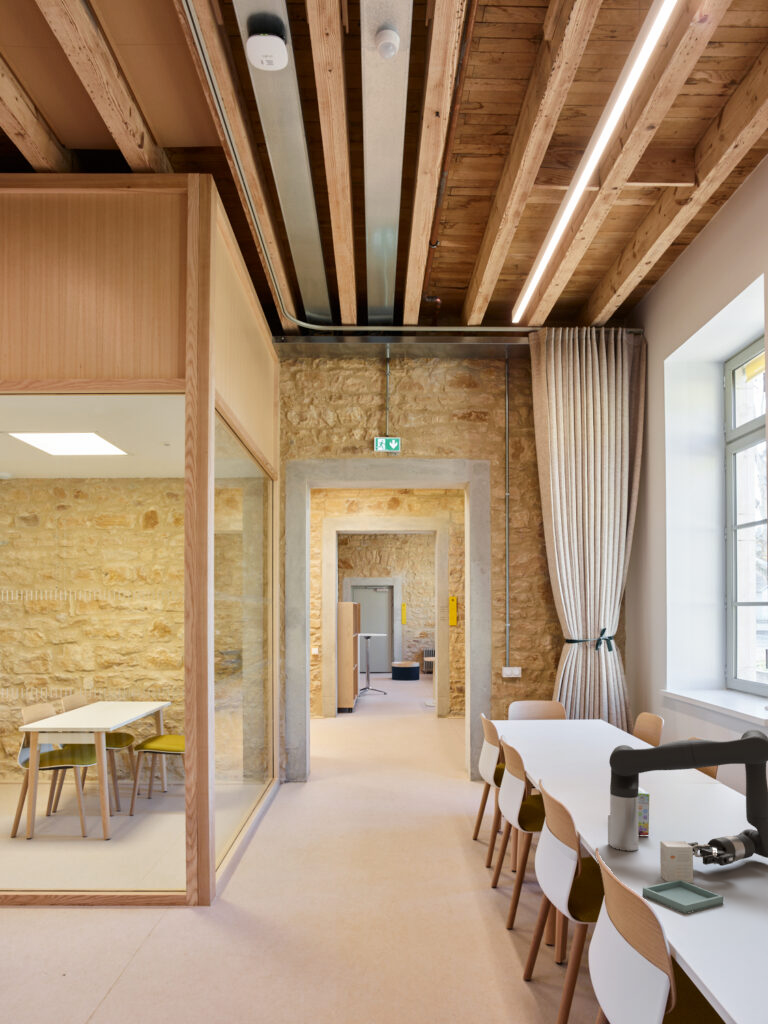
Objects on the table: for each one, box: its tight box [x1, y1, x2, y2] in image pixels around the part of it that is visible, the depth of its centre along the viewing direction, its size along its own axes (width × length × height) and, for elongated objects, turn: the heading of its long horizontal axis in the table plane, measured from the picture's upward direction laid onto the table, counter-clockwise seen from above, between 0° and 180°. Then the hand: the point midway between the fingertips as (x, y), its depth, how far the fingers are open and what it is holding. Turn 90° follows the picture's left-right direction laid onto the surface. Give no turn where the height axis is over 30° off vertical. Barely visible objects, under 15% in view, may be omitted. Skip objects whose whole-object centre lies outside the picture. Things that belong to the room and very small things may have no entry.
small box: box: [659, 840, 694, 884], centre depth 241 cm, size 8×6×10 cm
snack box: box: [638, 786, 650, 835], centre depth 296 cm, size 21×6×15 cm, turn 179°
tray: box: [642, 880, 724, 914], centre depth 225 cm, size 15×16×2 cm
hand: (691, 856), depth 244 cm, fingers open, 8 cm apart
